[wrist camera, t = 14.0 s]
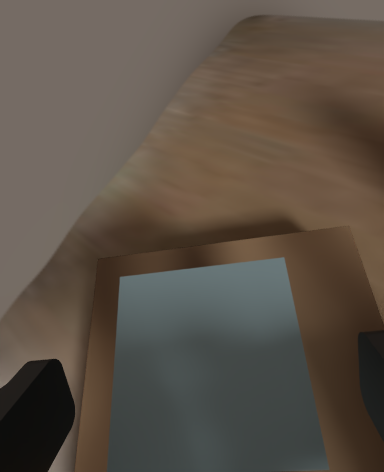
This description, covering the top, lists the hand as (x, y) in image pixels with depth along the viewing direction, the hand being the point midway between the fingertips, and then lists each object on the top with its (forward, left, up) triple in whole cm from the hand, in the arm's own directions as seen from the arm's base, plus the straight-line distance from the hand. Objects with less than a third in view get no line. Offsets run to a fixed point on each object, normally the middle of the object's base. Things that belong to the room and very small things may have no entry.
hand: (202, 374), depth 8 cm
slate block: (0, 0, -9) cm, 9 cm away
